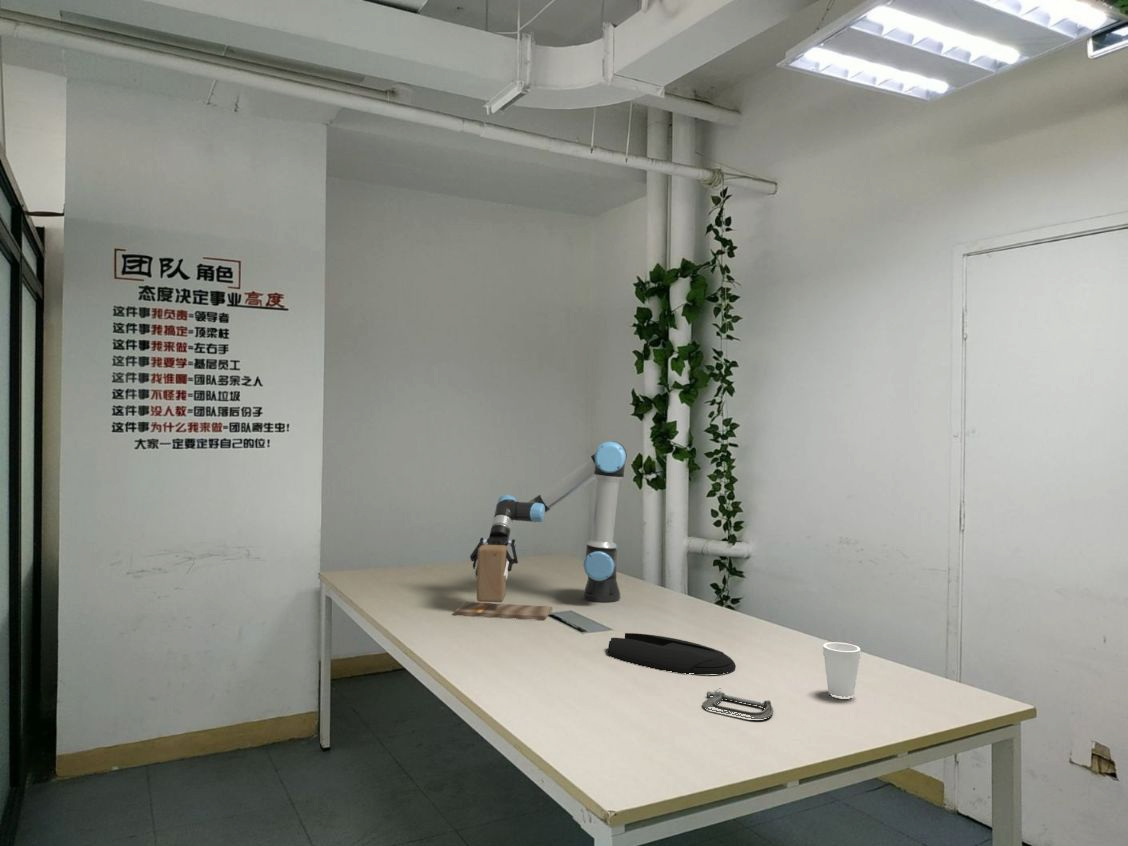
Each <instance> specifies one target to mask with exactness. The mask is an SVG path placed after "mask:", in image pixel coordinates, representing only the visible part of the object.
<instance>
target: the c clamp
mask: <svg viewBox="0 0 1128 846" xmlns="http://www.w3.org/2000/svg"><path fill="white" fill-rule="evenodd" d="M719 689H722V687H719V688H718V689H716V690H714V691H710V690H707V691H706V697H707V696H708V697H707V698H706V700H704V701H703V702H702V705H701V706H703V707H704V708H706V709H708V710H712V708H711V709H709V708H708V707H715V708H718V709H721V710H723V712H722V711H717V710H712V711H716V712H721V713H726V712H728V713H726V714H731V713H732V712H733V713H734V712H737V713H735V714H732V715H736V714H738V713H741V714H746V715H750V716H751V717H746V716H741V714H740V715H739V714H738V715H736V716H741V717H745V718H751V719H764V718H768V717H770V716H771V715H772V716H773V713H774V707H773V705H772V702H771V701H770V700H769V699H768V700H764V701H763V702H761V701H756V700H751V699H748V698H747V699H746V698H743V697H737V696H732V695H727V694H725V693H724V692H722V691H720V692H717V691H718V690H719ZM710 696H713V697H710ZM722 699H727V700H732V701H737V702H742V703H746V704H751V705H757V706H761V707H763V708H765V709H764V710H763V709H762V710H761V711H747V710H742V709H737V708H733V707H727V706H722V705H720V704H718V705H717V703H718V702H720V701H721V700H722ZM721 702H722V701H721ZM721 702H720V703H721ZM703 707H702V708H703ZM761 707H760V708H761ZM724 710H727V711H724ZM729 711H730V712H731V713H730V712H729ZM772 716H771V717H772ZM752 717H754V718H752ZM771 717H770V718H771Z"/></svg>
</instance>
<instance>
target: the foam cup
mask: <svg viewBox="0 0 1128 846" xmlns="http://www.w3.org/2000/svg"><path fill="white" fill-rule="evenodd" d="M822 649H823V650H822V654H823V657H824V659H823V660H824V665H825V675H826V685H827V693H828V692H829V693H830V694H832V695H836V696H842V697H844V696H845V697H848V696H852V695H854V696H855V689H856V684H857V678H858V670H859V666H860V665H859V663H860V660H861V648H860V647H859V646H858V645H856V644H855V645H854V644H851V643H847V642H834V641H833V642H826V643H824V644H823V645H822ZM829 693H828V694H829Z"/></svg>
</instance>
